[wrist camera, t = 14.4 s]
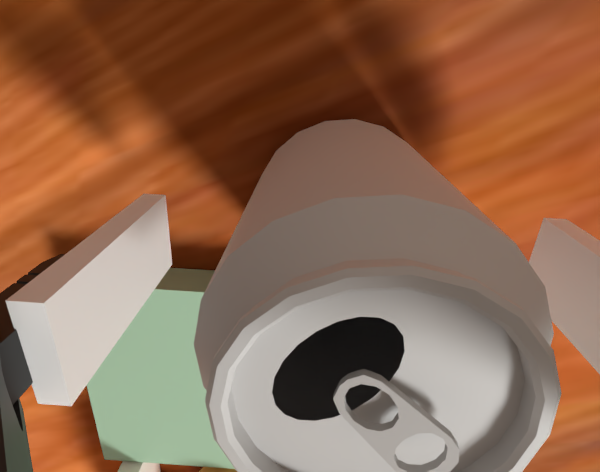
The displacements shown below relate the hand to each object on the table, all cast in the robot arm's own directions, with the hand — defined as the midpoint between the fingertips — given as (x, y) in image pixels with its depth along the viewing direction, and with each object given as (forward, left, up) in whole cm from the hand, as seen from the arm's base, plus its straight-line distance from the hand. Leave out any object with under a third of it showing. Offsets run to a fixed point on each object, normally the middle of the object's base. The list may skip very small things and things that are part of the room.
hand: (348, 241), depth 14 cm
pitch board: (-6, -10, -4) cm, 12 cm away
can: (0, 0, -4) cm, 4 cm away
